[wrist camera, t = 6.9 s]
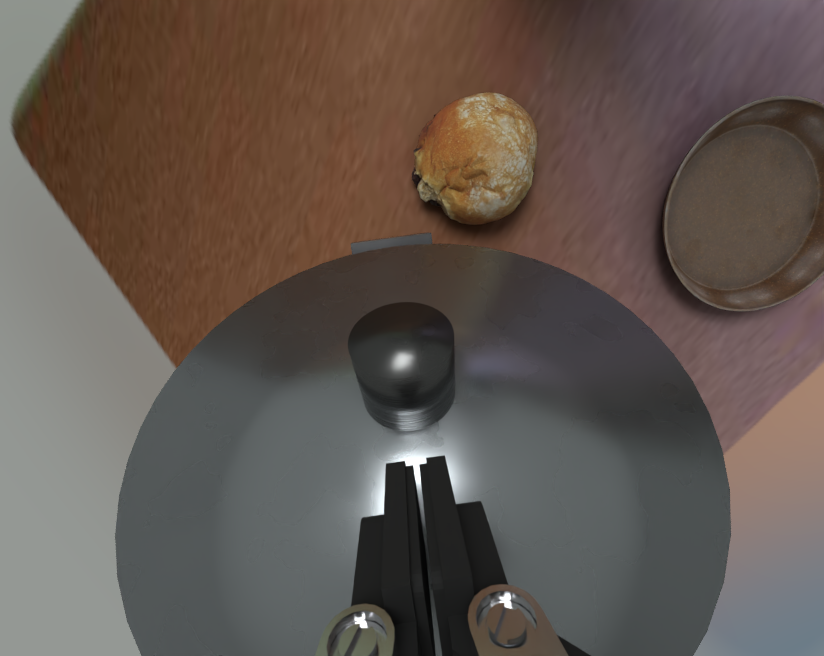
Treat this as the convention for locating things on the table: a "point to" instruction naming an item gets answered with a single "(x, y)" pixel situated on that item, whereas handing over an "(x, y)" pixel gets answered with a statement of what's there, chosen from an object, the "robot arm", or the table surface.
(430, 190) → the bread roll
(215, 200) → the table surface
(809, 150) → the plant saucer
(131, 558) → the cooker lid
